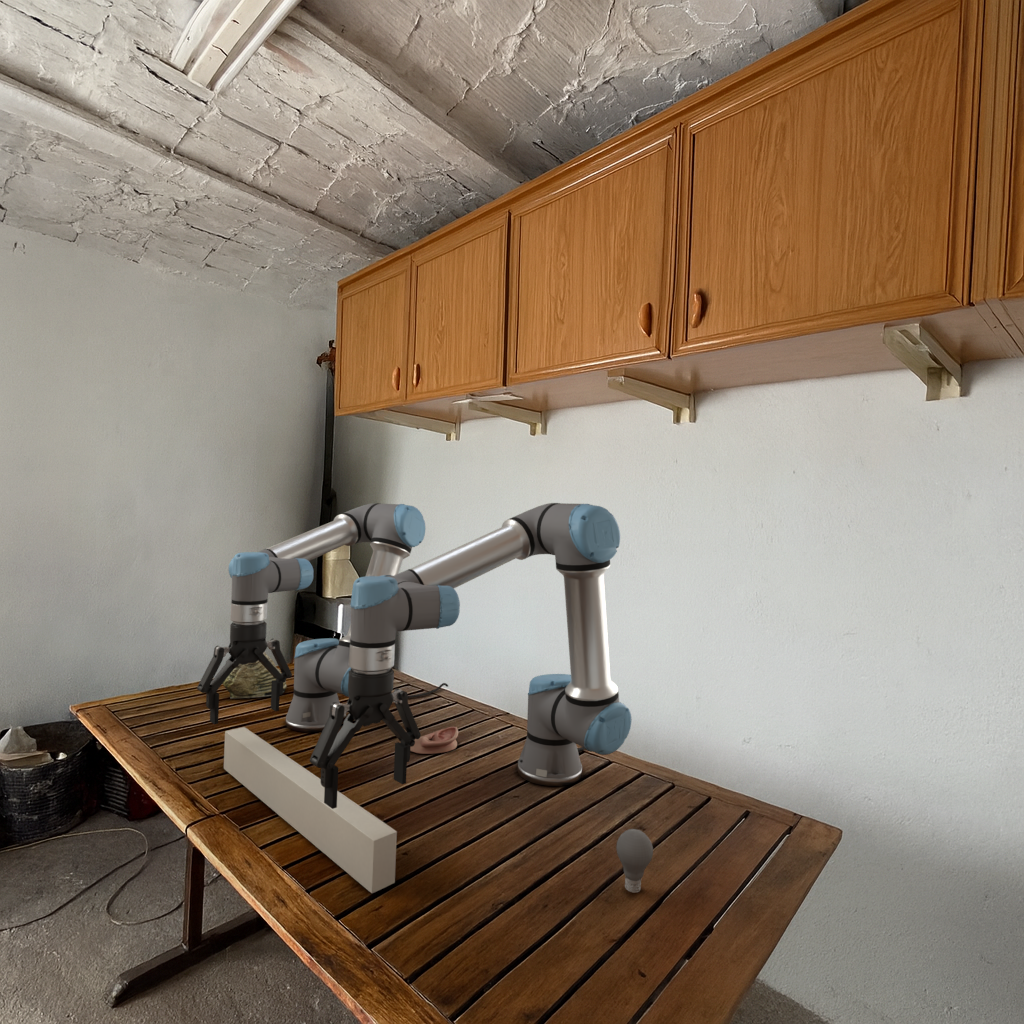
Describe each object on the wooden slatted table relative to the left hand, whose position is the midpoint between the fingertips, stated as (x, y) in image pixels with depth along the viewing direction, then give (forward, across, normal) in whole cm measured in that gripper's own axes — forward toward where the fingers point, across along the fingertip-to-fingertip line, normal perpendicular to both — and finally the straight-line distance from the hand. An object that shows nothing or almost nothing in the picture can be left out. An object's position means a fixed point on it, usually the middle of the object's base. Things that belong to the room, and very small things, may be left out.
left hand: (245, 715), depth 142 cm
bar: (+13, 0, -25) cm, 28 cm away
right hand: (0, 0, -49) cm, 49 cm away
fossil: (+13, +25, +54) cm, 61 cm away
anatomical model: (+13, +43, -13) cm, 47 cm away
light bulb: (+13, +31, -83) cm, 90 cm away
